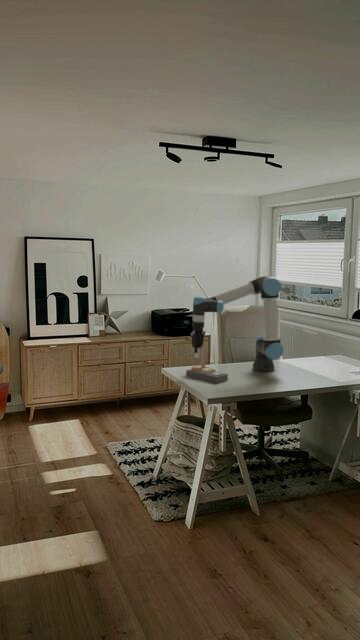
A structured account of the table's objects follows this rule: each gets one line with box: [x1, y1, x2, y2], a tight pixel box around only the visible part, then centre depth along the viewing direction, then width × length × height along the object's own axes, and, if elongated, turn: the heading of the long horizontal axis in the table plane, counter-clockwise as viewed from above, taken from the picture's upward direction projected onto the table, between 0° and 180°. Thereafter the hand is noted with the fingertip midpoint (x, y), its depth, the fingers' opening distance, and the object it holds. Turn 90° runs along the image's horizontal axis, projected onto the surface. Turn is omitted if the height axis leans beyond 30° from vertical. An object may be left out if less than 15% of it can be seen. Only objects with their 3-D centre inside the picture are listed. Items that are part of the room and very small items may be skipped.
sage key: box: [211, 371, 223, 376], centre depth 330 cm, size 5×5×3 cm
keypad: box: [185, 368, 229, 384], centre depth 335 cm, size 25×11×4 cm, turn 48°
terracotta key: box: [191, 365, 203, 372], centre depth 340 cm, size 5×5×3 cm
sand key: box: [201, 367, 213, 374], centre depth 335 cm, size 5×5×3 cm
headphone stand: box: [200, 336, 216, 372], centre depth 355 cm, size 10×11×22 cm
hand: (197, 357), depth 339 cm, fingers closed
